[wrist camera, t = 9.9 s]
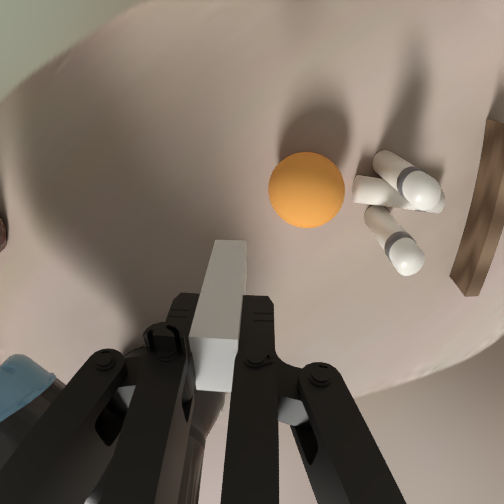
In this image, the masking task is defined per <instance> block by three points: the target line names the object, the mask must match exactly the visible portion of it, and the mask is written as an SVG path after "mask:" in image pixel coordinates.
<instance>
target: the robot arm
mask: <svg viewBox="0 0 504 504" xmlns="http://www.w3.org/2000/svg"><path fill="white" fill-rule="evenodd" d="M246 278H247V241H239V240H215V243H214V246H213V250H212V253H211V257H210V260H209V264H208V267H207V271H206V275H205V278H204V282H203V285H202V289H201V293H200V294H195V293H180V294H179V295H178V296H177V297H176V298H175V299H174V300H173V302H172V305H171V308H170V310H169V313H168V317H167V319H166V321H165V322H160V323H156V324H153V325H151V326H150V327H148V328H147V329H146V330H145V332H144V333H143V336H144V340H145V344H146V347H143V348H139V349H136V350H133V351H131V352H130V353H128V354H127V355H126V356H125V357H123V356H122V354H121V353H120V352H118V351H117V350H114V349H102V350H99V351H97V352H95V353H94V354H93V355H91V356H90V357H89V359H88V360H87V361H86V362H85V363H84V365H83V366H82V367H81V368H80V369H79V371H78V372H77V373H76V374H75V375H74V377H73V378H72V379H71V380H70V381H69V383H68V384H67V385H65V384H64V383H63V382H61V381H60V380H59V379H57V378H56V376H55V375H54V373H49V372H48V371H46V370H45V369H44V368H42V367H41V366H40V365H38V364H37V363H36V362H34V361H33V360H32V359H30V358H29V357H27V356H25V355H22V354H15V355H12V356H10V357H9V358H8V359H7V360H5V361H4V362H3V364H2V365H1V366H0V504H198V499H199V491H200V482H201V473H202V465H203V457H204V448H205V442H206V438H207V436H208V434H209V432H210V431H211V429H212V427H213V425H214V423H215V421H216V420H217V418H218V416H219V414H220V413H221V411H222V409H223V406H224V401H225V392H231V401H230V411H229V421H228V431H227V441H226V451H225V462H224V472H223V483H222V493H221V504H279V438H278V421H280V422H283V423H286V424H290V427H291V430H292V433H293V436H294V438H295V441H296V444H297V447H298V450H299V453H300V455H301V458H302V461H303V464H304V467H305V470H306V472H307V475H308V478H309V481H310V484H311V486H312V489H313V492H314V495H315V497H316V500H317V503H318V504H406V502H405V500H404V498H403V496H402V494H401V492H400V490H399V488H398V486H397V484H396V482H395V480H394V478H393V476H392V474H391V472H390V470H389V468H388V466H387V464H386V462H385V460H384V458H383V456H382V454H381V452H380V450H379V448H378V446H377V444H376V442H375V440H374V438H373V436H372V434H371V432H370V431H369V428H368V426H367V424H366V423H365V421H364V419H363V417H362V415H361V413H360V411H359V409H358V407H357V405H356V403H355V401H354V399H353V397H352V395H351V393H350V392H349V390H348V388H347V386H346V384H345V382H344V380H343V378H342V376H341V374H340V373H339V372H338V370H337V369H336V368H335V367H333V366H331V365H330V364H327V363H322V362H314V363H311V364H308V365H306V366H305V367H304V368H302V369H301V368H298V367H294V366H291V365H288V364H286V363H285V362H283V361H282V360H281V359H280V358H279V357H278V356H277V354H276V351H275V335H274V304H273V303H272V301H271V300H270V298H269V297H268V296H253V295H246Z"/></svg>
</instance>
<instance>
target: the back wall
mask: <svg viewBox="0 0 504 504" xmlns="http://www.w3.org/2000/svg"><path fill="white" fill-rule="evenodd" d="M503 226H504V124H502V123H499V122H496V121H492V120H489V119H487V120H486V128H485V136H484V142H483V149H482V155H481V160H480V166H479V171H478V176H477V181H476V185H475V190H474V194H473V199H472V203H471V207H470V211H469V215H468V219H467V222H466V226H465V229H464V233H463V236H462V240H461V243H460V246H459V250H458V253H457V256H456V259H455V262H454V265H453V268H452V271H451V274H450V277H451V279H452V280H453V281H454V283H455V284H456V285H457V286H458V288H459V289H460V290H461V292H462V293H463V294H464V296H465V297H468V296H478V295H479V293H480V291H481V288H482V286H483V283H484V281H485V278H486V276H487V273H488V270H489V268H490V265H491V262H492V260H493V257H494V254H495V251H496V248H497V245H498V242H499V239H500V236H501V233H502V229H503Z"/></svg>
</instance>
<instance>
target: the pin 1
mask: <svg viewBox="0 0 504 504" xmlns="http://www.w3.org/2000/svg"><path fill="white" fill-rule="evenodd" d="M372 166H373V169H374V171H375V172H376V173H377V174H378V175H380V176H381V177H382V178H383V179H384V180H385V181H387V182H388V183H389V184H390V185H391V186H392V187H393V188H395V189H396V190H397V191H398V192H399V193H400V195H401V196H402V197H404V198H405V199H406V200H407V201H408V202H410V203H411V204H412V205H413V206H414V207H415V208H417V209H418V210H421V211H427V210H430V209H432V208H433V207H434V206H435V205H436V204H437V203H438V201H439V199H440V195H441V188H440V185H439V183H438V182H437V181H436V180H435V179H434V178H432V177H431V176H429V175H428V174H427V173H426V172H424V171H423V170H421V169H419V168H418V167H415V166H413V165H412V164H410V163H409V162H407V161H405V160H404V159H402V158H400V157H399V156H397V155H395V154H394V153H392V152H390V151H388V150H382V151H379V152H378V153H376V155H375V156H374V158H373V161H372Z"/></svg>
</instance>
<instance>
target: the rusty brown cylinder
mask: <svg viewBox="0 0 504 504" xmlns="http://www.w3.org/2000/svg"><path fill="white" fill-rule="evenodd" d="M6 245H7V242H6V231H5V226H4V224H3V221H2V219H1V218H0V252H1V251H2V250H3V249H4V248H5V247H6Z"/></svg>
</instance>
